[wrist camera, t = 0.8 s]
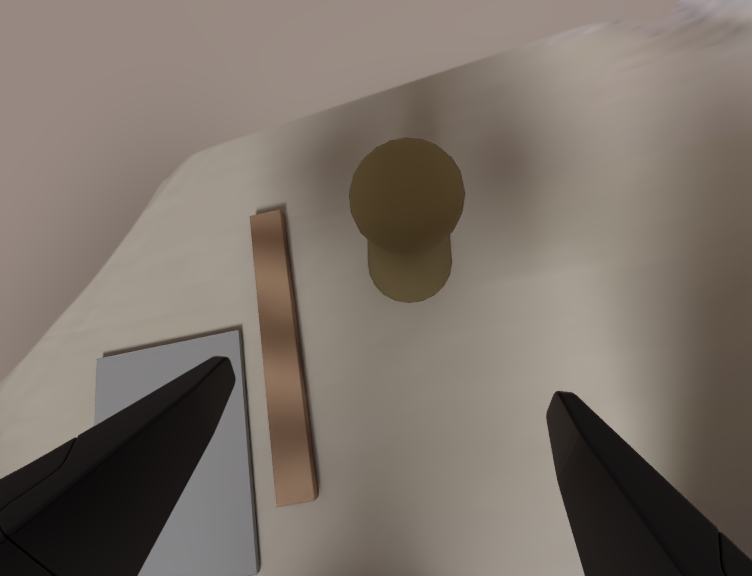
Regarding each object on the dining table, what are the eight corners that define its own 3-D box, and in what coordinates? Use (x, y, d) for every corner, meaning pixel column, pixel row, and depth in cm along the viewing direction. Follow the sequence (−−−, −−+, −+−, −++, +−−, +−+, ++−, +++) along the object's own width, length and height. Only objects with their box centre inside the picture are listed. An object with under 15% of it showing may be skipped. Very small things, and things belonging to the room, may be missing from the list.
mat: (259, 570, 21) (256, 574, 20) (94, 596, 21) (88, 600, 21) (241, 330, 24) (238, 329, 24) (101, 359, 25) (96, 358, 25)
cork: (369, 223, 25) (337, 117, 15) (451, 222, 25) (478, 109, 14) (366, 302, 24) (327, 246, 13) (452, 303, 23) (484, 245, 13)
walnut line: (318, 496, 21) (314, 500, 20) (281, 502, 21) (276, 507, 21) (283, 214, 26) (279, 209, 26) (254, 220, 26) (249, 216, 26)
